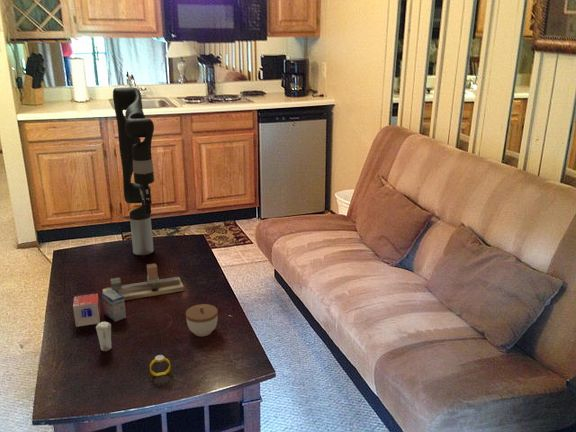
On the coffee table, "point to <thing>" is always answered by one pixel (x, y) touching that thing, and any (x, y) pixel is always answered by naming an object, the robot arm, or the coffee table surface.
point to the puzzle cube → (86, 309)
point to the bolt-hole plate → (149, 293)
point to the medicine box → (113, 305)
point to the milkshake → (104, 335)
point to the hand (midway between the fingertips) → (146, 210)
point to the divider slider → (152, 274)
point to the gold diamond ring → (160, 359)
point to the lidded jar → (202, 319)
